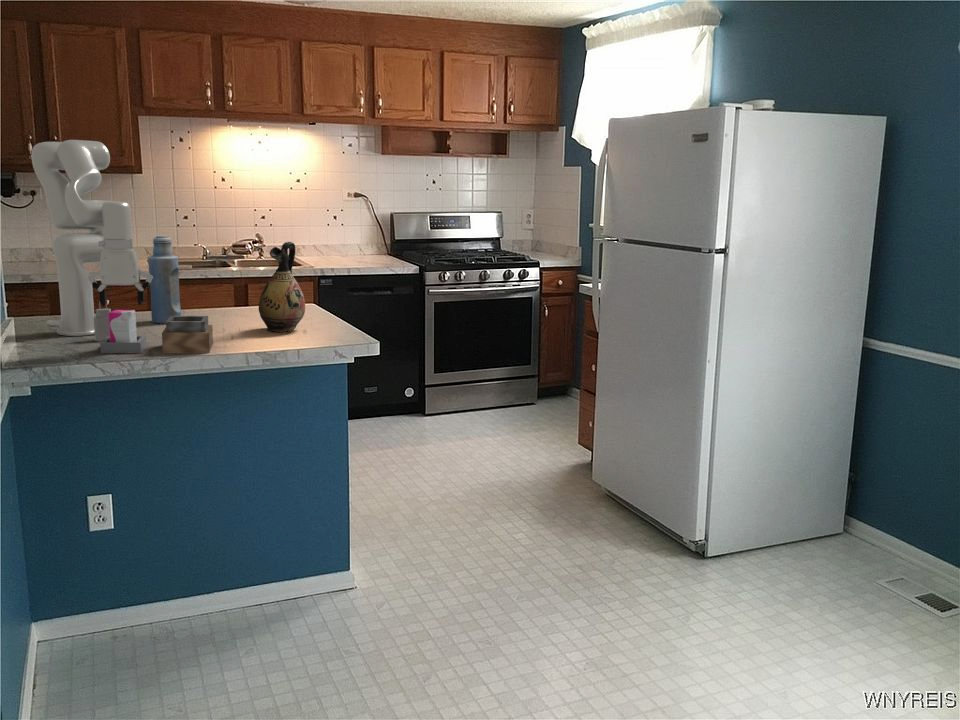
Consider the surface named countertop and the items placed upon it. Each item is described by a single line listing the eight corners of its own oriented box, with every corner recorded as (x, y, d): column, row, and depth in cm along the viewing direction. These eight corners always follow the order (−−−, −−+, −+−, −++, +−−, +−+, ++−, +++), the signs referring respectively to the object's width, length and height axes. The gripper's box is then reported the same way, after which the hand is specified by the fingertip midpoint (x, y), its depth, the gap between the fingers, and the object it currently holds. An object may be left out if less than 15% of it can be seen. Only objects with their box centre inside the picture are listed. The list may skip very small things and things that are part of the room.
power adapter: (115, 340, 254) (113, 301, 251) (96, 341, 251) (94, 302, 248) (113, 338, 256) (111, 300, 254) (94, 339, 253) (92, 301, 251)
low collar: (100, 353, 235) (100, 343, 234) (108, 345, 245) (107, 335, 244) (140, 352, 237) (140, 342, 237) (146, 345, 248) (146, 335, 247)
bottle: (172, 324, 282) (168, 237, 275) (145, 323, 283) (141, 235, 277) (186, 320, 291) (182, 235, 285) (160, 318, 293) (156, 234, 286)
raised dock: (162, 353, 238) (161, 322, 236) (168, 344, 250) (167, 315, 248) (209, 352, 241) (208, 322, 239) (213, 343, 253) (212, 315, 251)
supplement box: (138, 347, 244) (135, 309, 242) (130, 351, 238) (128, 312, 236) (118, 347, 244) (116, 309, 242) (110, 351, 238) (107, 312, 236)
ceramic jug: (290, 335, 270) (288, 244, 264) (250, 331, 275) (247, 241, 269) (316, 328, 286) (315, 241, 280) (278, 324, 291) (276, 239, 284)
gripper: (82, 246, 229) (87, 306, 232) (148, 246, 233) (152, 305, 236) (88, 244, 236) (93, 303, 239) (152, 244, 240) (156, 302, 244)
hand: (122, 304), depth 238 cm, fingers open, 9 cm apart
